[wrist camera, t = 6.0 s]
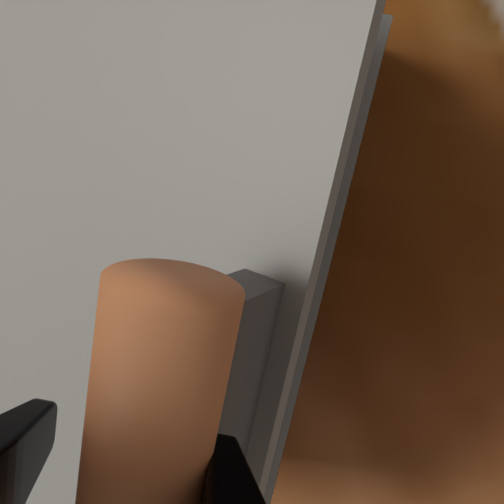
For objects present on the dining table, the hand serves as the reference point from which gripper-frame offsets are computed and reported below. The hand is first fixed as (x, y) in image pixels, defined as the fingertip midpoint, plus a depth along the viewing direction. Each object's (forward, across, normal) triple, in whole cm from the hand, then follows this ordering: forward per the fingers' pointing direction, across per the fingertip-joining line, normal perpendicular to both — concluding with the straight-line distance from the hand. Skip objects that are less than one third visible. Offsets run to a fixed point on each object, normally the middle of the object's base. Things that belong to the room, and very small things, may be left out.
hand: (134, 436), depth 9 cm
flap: (+5, +2, 0) cm, 5 cm away
